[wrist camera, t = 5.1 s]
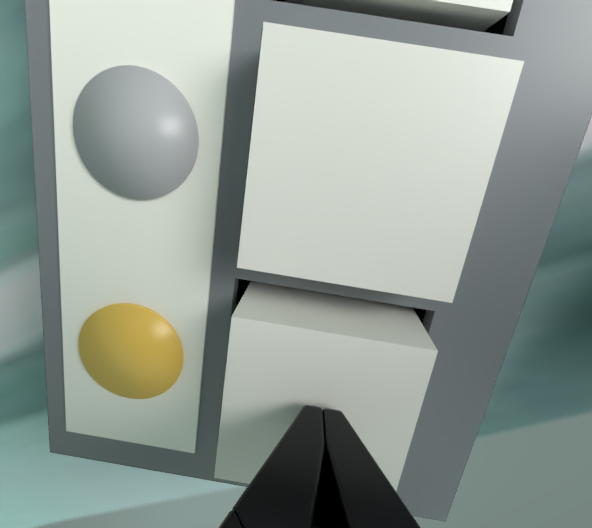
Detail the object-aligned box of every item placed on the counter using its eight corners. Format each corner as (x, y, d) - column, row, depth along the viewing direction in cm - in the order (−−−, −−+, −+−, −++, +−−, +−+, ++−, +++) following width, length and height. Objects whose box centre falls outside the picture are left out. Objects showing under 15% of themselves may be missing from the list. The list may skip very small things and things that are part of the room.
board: (630, -239, 8) (811, -467, 5) (420, 445, 14) (447, 528, 11) (103, -309, 9) (-19, -568, 5) (105, 391, 14) (45, 457, 11)
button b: (467, 86, 9) (524, 61, 6) (420, 266, 10) (452, 303, 7) (279, 57, 9) (263, 21, 6) (257, 240, 10) (236, 267, 8)
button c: (410, 304, 10) (437, 350, 8) (376, 434, 12) (390, 508, 9) (252, 278, 10) (231, 316, 8) (236, 410, 12) (214, 477, 9)
